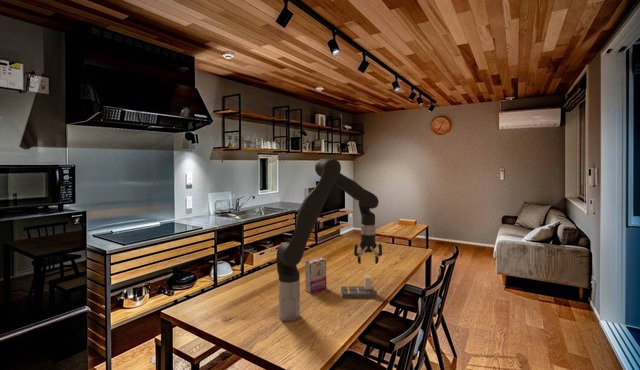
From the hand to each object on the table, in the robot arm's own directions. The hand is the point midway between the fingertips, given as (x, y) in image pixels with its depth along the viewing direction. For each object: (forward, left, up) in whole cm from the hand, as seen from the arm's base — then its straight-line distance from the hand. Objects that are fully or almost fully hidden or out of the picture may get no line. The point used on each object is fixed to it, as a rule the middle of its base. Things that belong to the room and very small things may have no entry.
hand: (367, 263), depth 172 cm
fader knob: (0, 0, -14) cm, 14 cm away
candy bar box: (+6, +27, -16) cm, 32 cm away
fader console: (0, +5, -16) cm, 17 cm away
